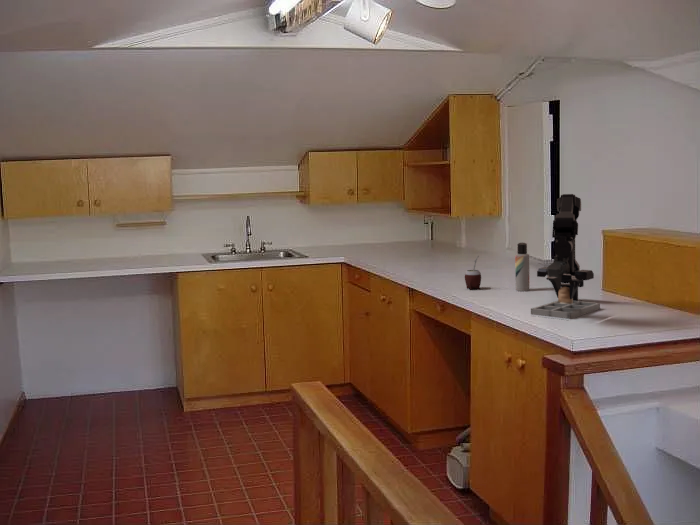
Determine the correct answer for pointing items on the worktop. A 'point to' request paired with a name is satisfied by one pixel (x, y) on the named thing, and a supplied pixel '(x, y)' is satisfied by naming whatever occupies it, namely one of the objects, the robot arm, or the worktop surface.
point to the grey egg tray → (565, 309)
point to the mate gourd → (473, 278)
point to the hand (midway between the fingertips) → (564, 298)
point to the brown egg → (564, 295)
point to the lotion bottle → (522, 268)
